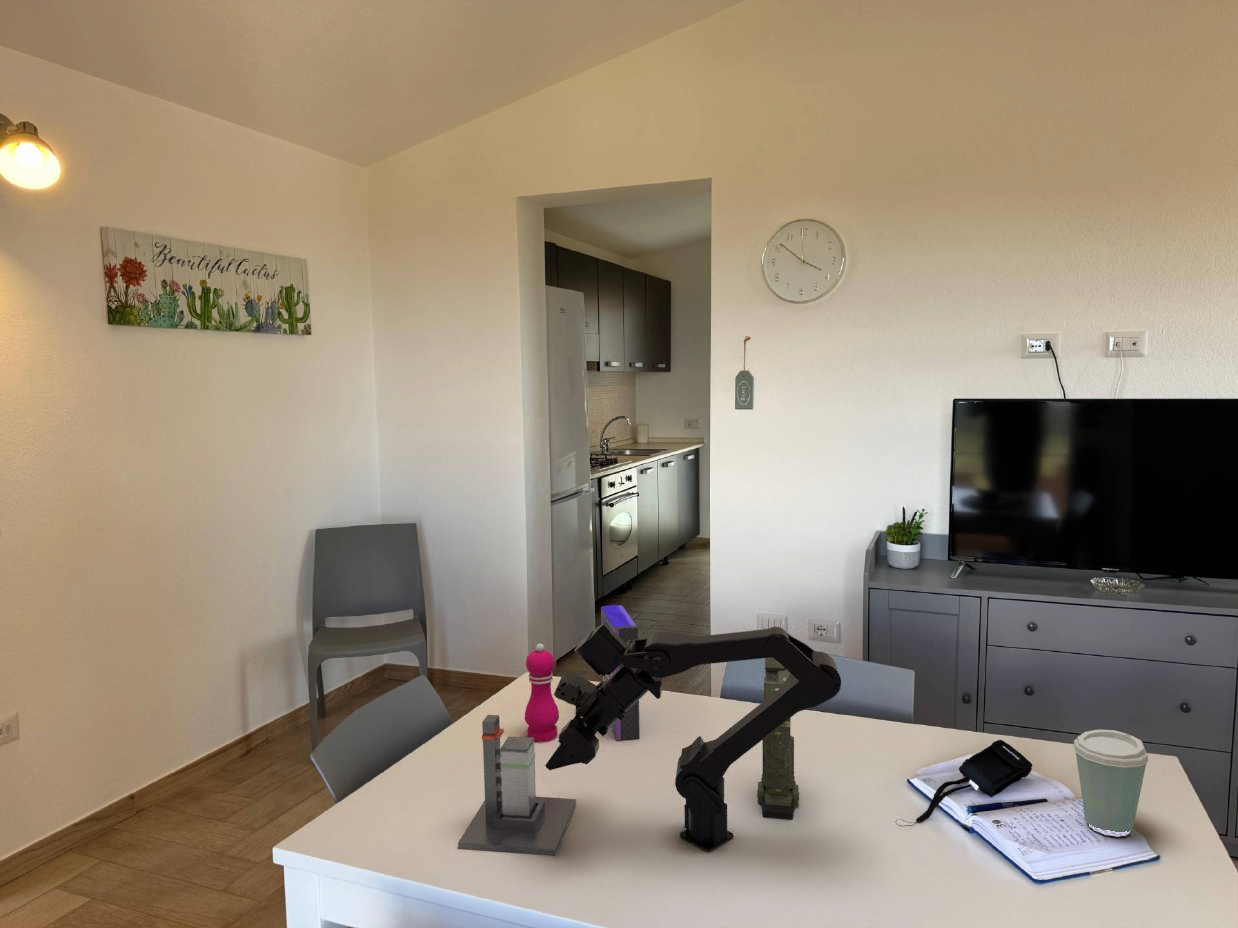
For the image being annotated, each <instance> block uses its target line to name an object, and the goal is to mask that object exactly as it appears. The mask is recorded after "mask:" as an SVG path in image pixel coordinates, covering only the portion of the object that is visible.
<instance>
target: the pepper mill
mask: <svg viewBox="0 0 1238 928" xmlns="http://www.w3.org/2000/svg"><path fill="white" fill-rule="evenodd" d="M555 664H556V662H555V658H554V656H553V654H552V653H551V652H550V651H548V650H545V646H544V644H543V643H538V644H536V645H535V650H534V651H532V652H530V653H529V654H528V656H527V657H526V660H525V667H526V670H527V671H528V672H529V674H528V682H529V683H530V685H531V687H530V689H531V690H530V697H529V700H528V702H527V704H526V707H525V711H524V721H525V723H526V725H528V727H527V728H526V729H527V730H526V731H527V736H526V737H528V738H534V743H535V742H537V743H546V742H547V743H548V742H550V741H552V740H555V739H556V738H557V736H558V727H557V725H556V724H558V721H559V719H560V714H559V713H560V710H559V708H558V705H557V704H556V701H555V699H554V697H553V694H552V687H551V686H552V685H551V684H552V681H553V679H554V678H553V674H554V673H553V670H554V668H555V666H556V665H555Z"/></svg>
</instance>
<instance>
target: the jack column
mask: <svg viewBox="0 0 1238 928" xmlns="http://www.w3.org/2000/svg"><path fill="white" fill-rule="evenodd" d="M500 749H501V777H502V806H503V817H511V818H526V819H531V817H532V815H533V813H534V811H535V809H536V797H537V791H536V788H537V786H536V759H535V758H536V752H535V751H536V750H535V741H534V738H528V736H526V737H525V736H507V738H506V740H504V742H503V744H502V745H501V746H500Z"/></svg>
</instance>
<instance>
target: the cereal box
mask: <svg viewBox="0 0 1238 928" xmlns="http://www.w3.org/2000/svg"><path fill="white" fill-rule="evenodd" d="M600 609H601V610H600V611H601V612H600V613H601V618H600V619H601V624H602V623H603V622H606V623H607V624H608V625H609V626H610V627H611V628H612V630H613V631H614V632H615V633H616V634H617V635H618V636H619V637H620V638H621V639H622V640H623V641H624V642H625V643H626V644H627V642H628V640H636V639H639V627H638V626H637V624H636V623H635V621H634V620H633V619H632V617H631V616H630V614H629V613H628V611H626V609H625V607H624V606H623V605H618V604H617V605H616V604H615V605H614V604H612V605H603V606H601V607H600ZM622 666H623V664H622V663H621V664H620V665H619V666H618V667H617V668H616V669H615V670H614V671H613V672H612V673H611V674H610V675H607V674H606V675H605V676H602V681H604V680H605V681H607V680H608V679H609V678H610V677H611V676H612V675H613V674H615V673H616V672H617V671H618V670H619V669H620V668H621V667H622ZM610 728H612V729H611V732H612V733H613V735H614V737H615V740H616V742H617V741H618V742H627V741H636V740H637V741H638V740H640V739H641V738H640V699H639V700H638V701H637V702H636V703H635V704H634V705H633V706H632V707H631V708H630V709H629V710H627V712H626V715H625V717H624V718H623V719H622V720H619V719H618V720H617V721H616V722H615V723H614V724H613V725H611V726H610Z"/></svg>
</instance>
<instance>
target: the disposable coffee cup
mask: <svg viewBox="0 0 1238 928" xmlns="http://www.w3.org/2000/svg"><path fill="white" fill-rule="evenodd" d="M1072 746H1073V751H1074V753H1075V757H1076V765H1077V770H1078V777H1079V786H1080V791H1081V799H1082V805H1083V806H1082V807H1083V815H1084V819H1086V820H1085V822H1086V821H1087V822H1088V823H1089V824H1090V825H1092V826H1094V827H1096V828H1100V829H1103V830H1110V831H1115V832H1125V831H1127V832H1129V831H1130V830H1131V831H1133V830H1134V825H1135V820H1136V816H1137V811H1138V806H1139V801H1140V796H1141V792H1142V786H1143V781H1144V778H1145V777H1144V776H1145V771H1146V767H1147V763H1149V755H1148V753H1147V751H1146V749H1145V746H1144V743H1143V742H1142V740H1141V739H1139V738H1137V737H1135V736H1133V735H1131V734H1128V733H1125V732H1121V731H1118V730H1115V729H1113V730H1112V729H1111V730H1110V729H1093V730H1087V731H1084V732H1082V733H1081V734H1080V735H1078V736H1077V738H1076V739H1074V740H1073V745H1072Z"/></svg>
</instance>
